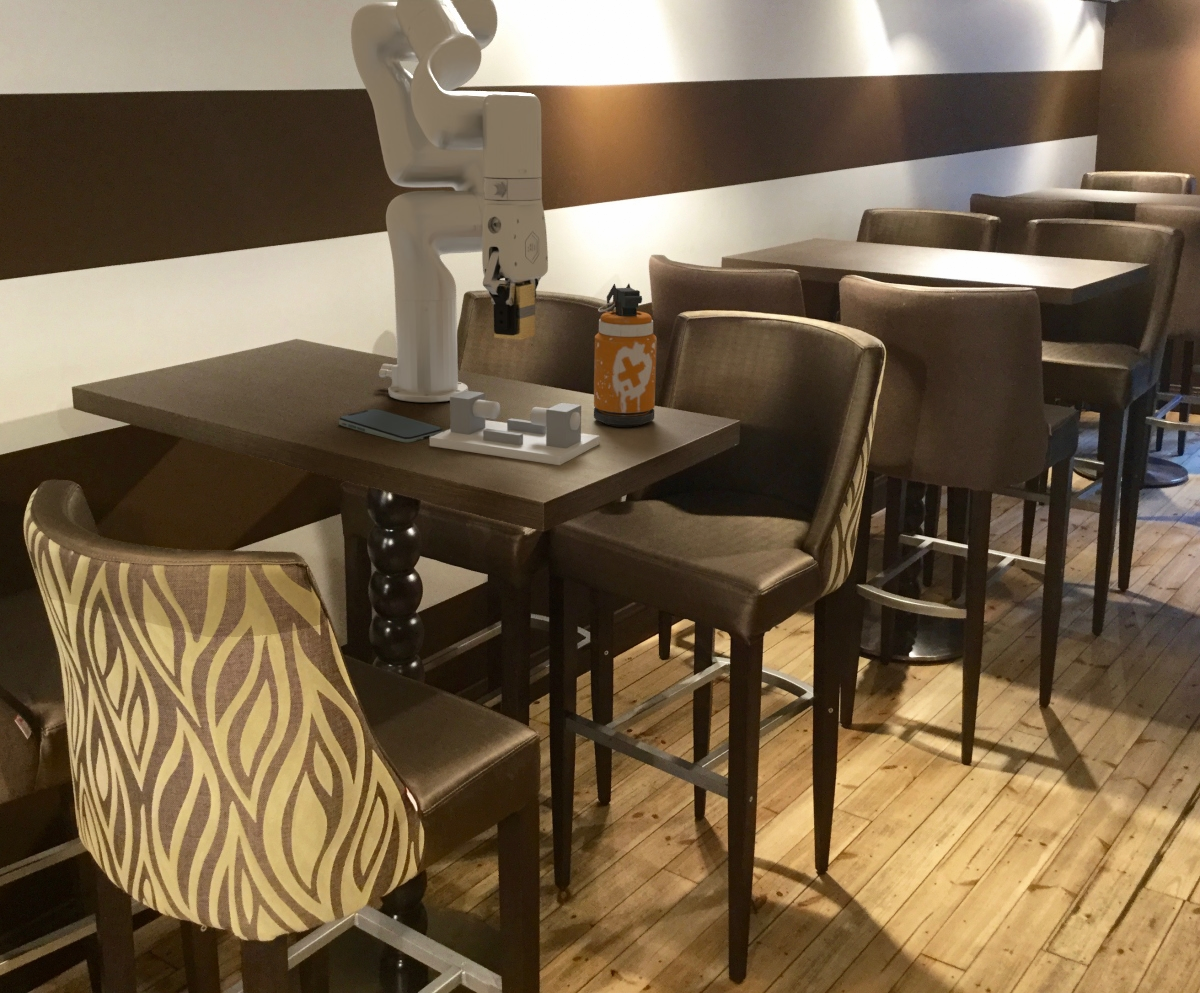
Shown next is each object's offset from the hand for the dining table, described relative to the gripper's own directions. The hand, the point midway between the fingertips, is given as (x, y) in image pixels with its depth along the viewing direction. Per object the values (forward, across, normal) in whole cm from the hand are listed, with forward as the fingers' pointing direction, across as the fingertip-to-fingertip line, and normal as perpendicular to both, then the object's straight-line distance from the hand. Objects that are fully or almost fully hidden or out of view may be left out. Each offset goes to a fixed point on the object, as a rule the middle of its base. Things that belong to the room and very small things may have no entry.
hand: (514, 330), depth 171 cm
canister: (+16, +20, -7) cm, 26 cm away
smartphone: (+16, -2, +20) cm, 26 cm away
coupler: (+1, 0, 0) cm, 1 cm away
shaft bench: (+16, 0, 0) cm, 16 cm away
